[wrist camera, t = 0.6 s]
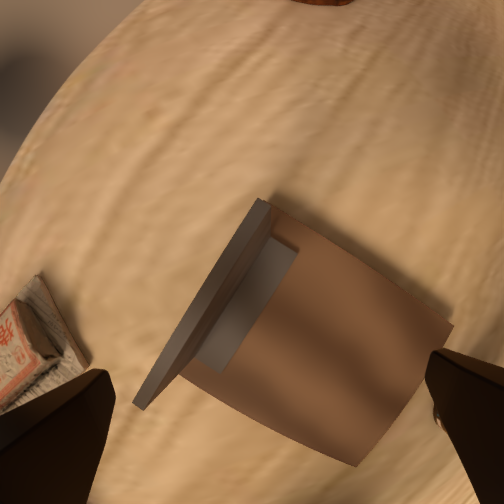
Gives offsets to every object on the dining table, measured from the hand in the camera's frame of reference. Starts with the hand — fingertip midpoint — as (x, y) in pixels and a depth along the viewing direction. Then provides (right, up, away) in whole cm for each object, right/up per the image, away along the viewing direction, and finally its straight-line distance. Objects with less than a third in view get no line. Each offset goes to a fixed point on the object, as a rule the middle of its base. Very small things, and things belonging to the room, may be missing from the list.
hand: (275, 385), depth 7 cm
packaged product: (-25, -8, +17) cm, 31 cm away
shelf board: (+4, -4, +15) cm, 16 cm away
